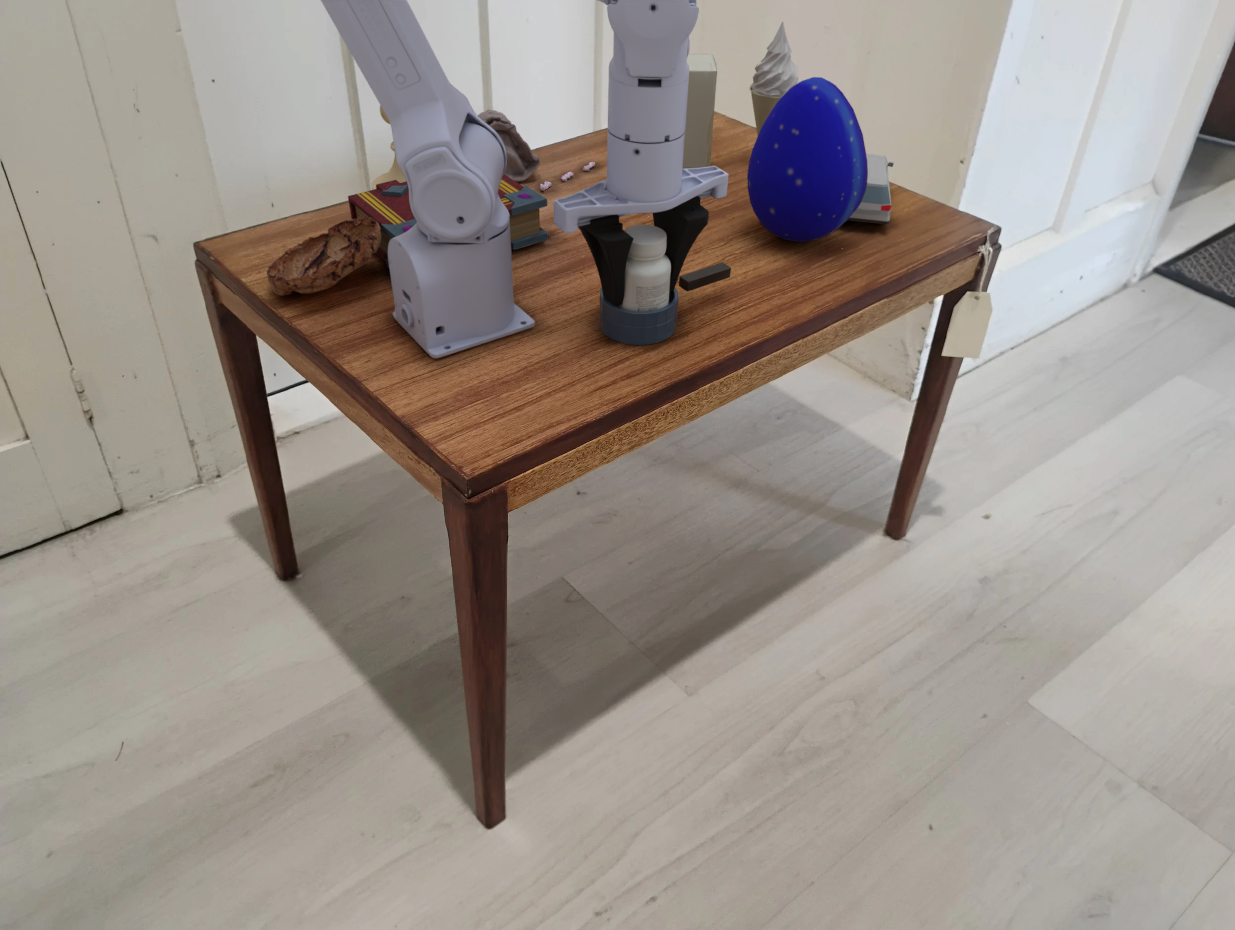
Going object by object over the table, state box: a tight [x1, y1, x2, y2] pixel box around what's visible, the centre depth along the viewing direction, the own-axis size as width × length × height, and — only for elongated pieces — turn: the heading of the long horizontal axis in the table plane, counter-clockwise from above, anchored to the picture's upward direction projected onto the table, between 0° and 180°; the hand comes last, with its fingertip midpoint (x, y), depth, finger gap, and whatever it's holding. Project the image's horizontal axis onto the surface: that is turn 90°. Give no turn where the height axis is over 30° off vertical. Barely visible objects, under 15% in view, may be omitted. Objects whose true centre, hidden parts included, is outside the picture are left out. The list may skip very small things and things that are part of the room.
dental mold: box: [477, 109, 541, 182], centre depth 103 cm, size 8×7×5 cm
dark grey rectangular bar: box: [678, 261, 732, 293], centre depth 83 cm, size 5×1×1 cm, turn 125°
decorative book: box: [347, 174, 551, 268], centre depth 90 cm, size 11×16×5 cm
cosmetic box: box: [682, 53, 718, 169], centre depth 101 cm, size 6×4×12 cm
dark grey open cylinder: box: [598, 286, 680, 346], centre depth 80 cm, size 6×6×3 cm
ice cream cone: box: [749, 21, 799, 136], centre depth 104 cm, size 5×5×15 cm
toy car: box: [847, 152, 894, 225], centre depth 99 cm, size 6×13×5 cm, turn 171°
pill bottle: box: [616, 224, 671, 312], centre depth 78 cm, size 4×4×8 cm
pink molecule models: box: [539, 161, 596, 192], centre depth 102 cm, size 15×2×1 cm, turn 141°
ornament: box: [746, 76, 868, 242], centre depth 90 cm, size 11×9×15 cm
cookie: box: [266, 216, 381, 296], centre depth 84 cm, size 10×11×3 cm
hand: (639, 292), depth 79 cm, fingers closed on pill bottle, 4 cm apart
